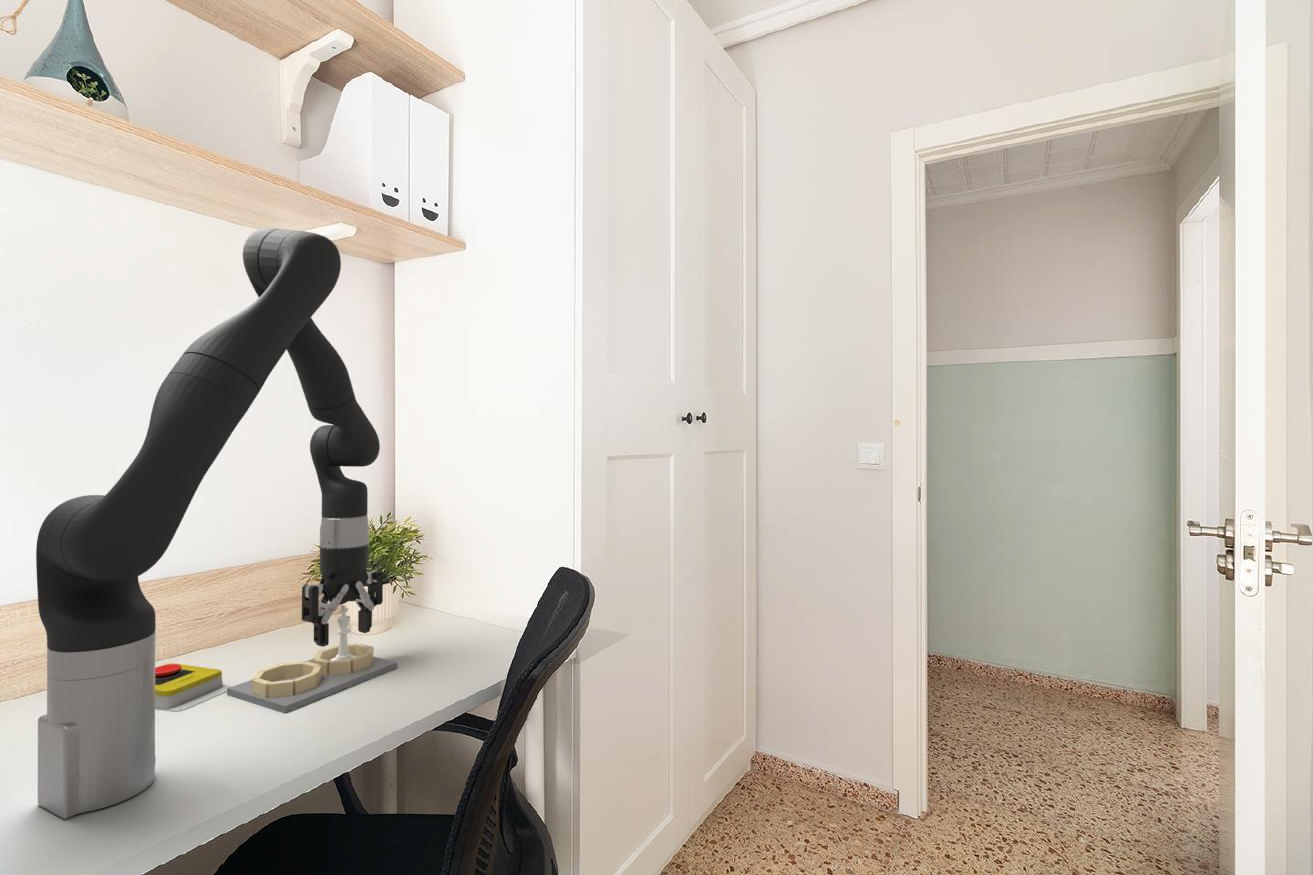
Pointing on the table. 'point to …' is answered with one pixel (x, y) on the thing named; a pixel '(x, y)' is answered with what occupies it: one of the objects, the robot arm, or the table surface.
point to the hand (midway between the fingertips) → (344, 638)
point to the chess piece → (343, 636)
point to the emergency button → (186, 686)
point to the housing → (310, 678)
